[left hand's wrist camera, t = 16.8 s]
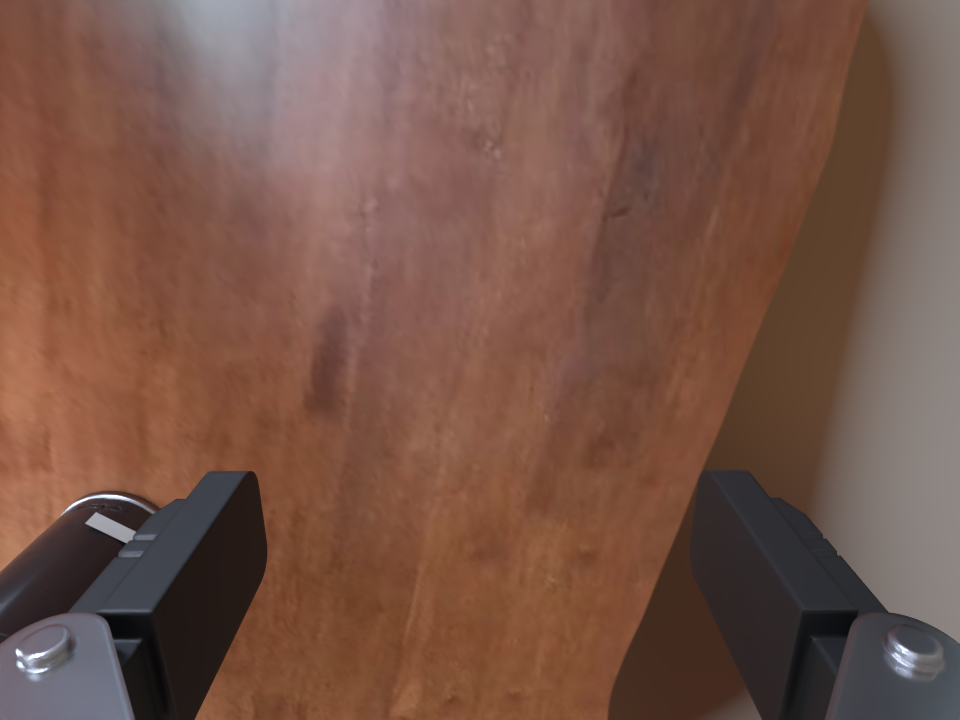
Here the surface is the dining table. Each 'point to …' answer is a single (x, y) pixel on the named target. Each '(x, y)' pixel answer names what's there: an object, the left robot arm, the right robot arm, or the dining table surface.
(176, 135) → the dining table surface
